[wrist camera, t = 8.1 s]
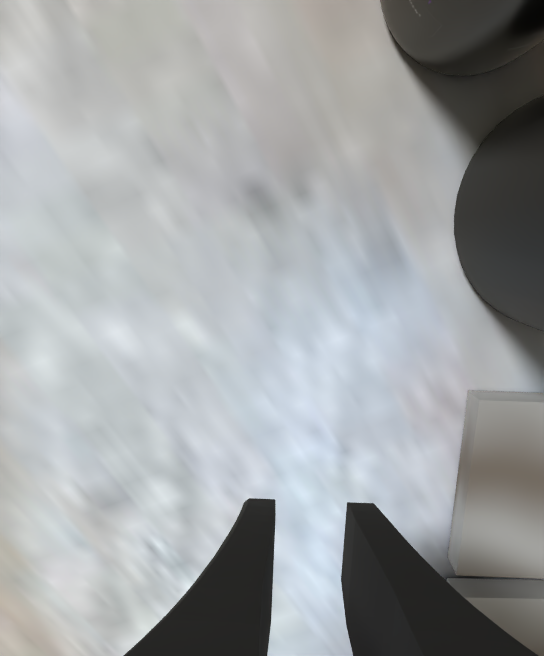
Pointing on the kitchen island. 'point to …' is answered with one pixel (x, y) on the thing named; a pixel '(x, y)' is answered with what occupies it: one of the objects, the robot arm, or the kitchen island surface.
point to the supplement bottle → (465, 32)
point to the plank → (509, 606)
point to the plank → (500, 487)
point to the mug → (506, 216)
